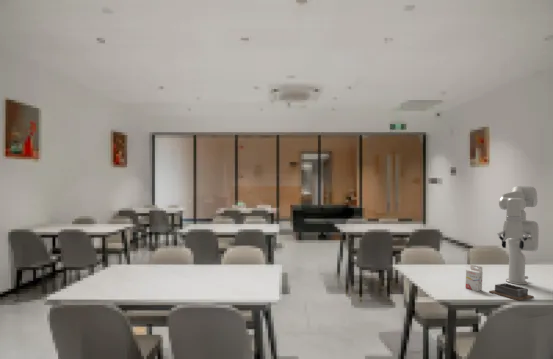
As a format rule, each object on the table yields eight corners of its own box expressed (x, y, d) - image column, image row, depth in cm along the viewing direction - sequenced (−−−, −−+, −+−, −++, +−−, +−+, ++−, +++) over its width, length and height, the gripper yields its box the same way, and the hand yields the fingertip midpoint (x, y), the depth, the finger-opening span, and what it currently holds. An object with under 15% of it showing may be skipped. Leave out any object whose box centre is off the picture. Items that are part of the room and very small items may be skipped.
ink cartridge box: (465, 288, 268) (465, 264, 268) (469, 287, 271) (470, 264, 271) (477, 291, 261) (478, 267, 261) (482, 290, 264) (483, 266, 264)
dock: (505, 290, 266) (505, 282, 266) (533, 297, 250) (533, 289, 250) (489, 292, 259) (489, 284, 259) (517, 300, 243) (517, 291, 243)
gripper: (525, 219, 254) (524, 247, 254) (495, 218, 256) (494, 246, 256) (532, 220, 247) (531, 249, 247) (500, 219, 249) (499, 248, 249)
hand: (512, 248), depth 252 cm, fingers open, 9 cm apart
